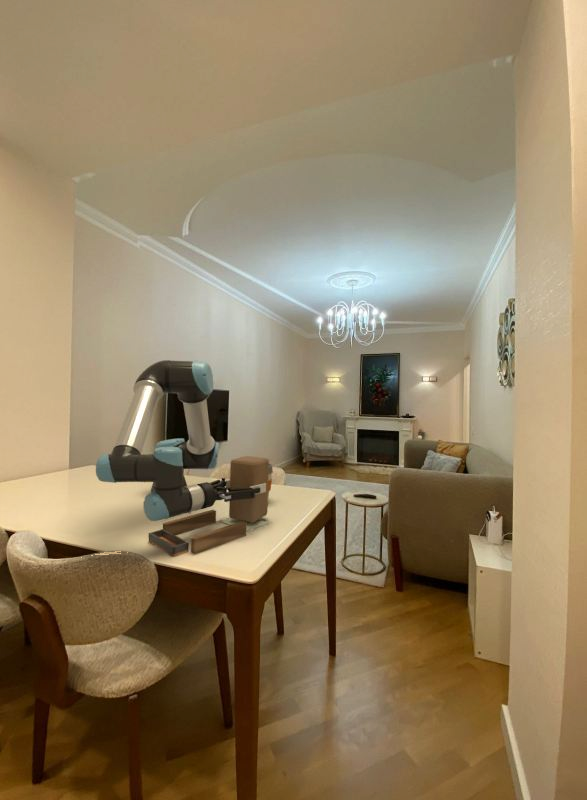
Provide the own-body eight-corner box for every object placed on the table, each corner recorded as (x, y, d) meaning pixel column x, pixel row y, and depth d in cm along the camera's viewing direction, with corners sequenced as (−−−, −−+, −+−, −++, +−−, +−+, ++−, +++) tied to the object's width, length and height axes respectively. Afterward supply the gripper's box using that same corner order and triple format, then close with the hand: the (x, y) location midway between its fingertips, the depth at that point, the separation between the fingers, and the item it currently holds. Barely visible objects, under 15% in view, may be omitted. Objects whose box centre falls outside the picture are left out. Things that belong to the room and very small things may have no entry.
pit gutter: (148, 541, 103) (148, 533, 103) (163, 537, 107) (163, 528, 107) (173, 556, 94) (173, 547, 94) (188, 551, 97) (188, 542, 97)
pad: (220, 521, 120) (220, 520, 120) (242, 514, 128) (242, 513, 128) (245, 532, 112) (245, 530, 112) (267, 523, 119) (267, 522, 119)
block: (253, 524, 115) (255, 462, 115) (227, 518, 119) (229, 459, 119) (268, 515, 124) (270, 457, 124) (244, 510, 128) (245, 455, 128)
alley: (162, 536, 107) (162, 523, 107) (212, 521, 121) (212, 509, 121) (194, 554, 96) (195, 539, 96) (246, 535, 109) (246, 522, 109)
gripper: (177, 500, 114) (230, 488, 130) (222, 519, 98) (277, 502, 115) (177, 477, 114) (231, 468, 130) (222, 492, 98) (277, 479, 114)
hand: (252, 484), depth 122 cm, fingers closed on block, 12 cm apart
